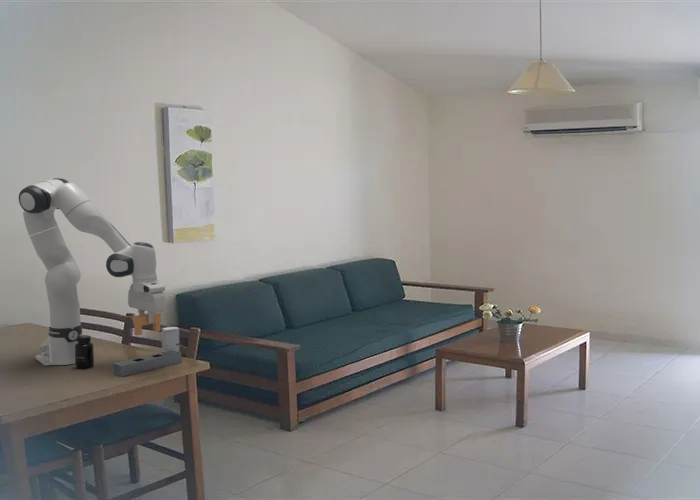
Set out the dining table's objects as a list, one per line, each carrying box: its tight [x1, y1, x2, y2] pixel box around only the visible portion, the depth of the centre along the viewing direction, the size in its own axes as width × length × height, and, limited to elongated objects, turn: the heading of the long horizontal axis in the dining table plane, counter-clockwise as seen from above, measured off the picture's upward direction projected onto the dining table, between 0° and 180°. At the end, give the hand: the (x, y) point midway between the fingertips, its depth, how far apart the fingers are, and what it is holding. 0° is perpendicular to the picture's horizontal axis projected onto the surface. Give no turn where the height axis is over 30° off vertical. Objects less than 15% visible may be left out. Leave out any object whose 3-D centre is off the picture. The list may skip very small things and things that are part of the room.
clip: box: [132, 312, 162, 337], centre depth 271 cm, size 3×10×7 cm, turn 138°
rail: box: [112, 350, 183, 378], centre depth 272 cm, size 6×26×4 cm, turn 138°
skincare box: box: [161, 326, 180, 353], centre depth 287 cm, size 6×4×12 cm
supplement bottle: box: [74, 334, 95, 370], centre depth 274 cm, size 7×7×12 cm
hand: (146, 321), depth 270 cm, fingers closed on clip, 3 cm apart
